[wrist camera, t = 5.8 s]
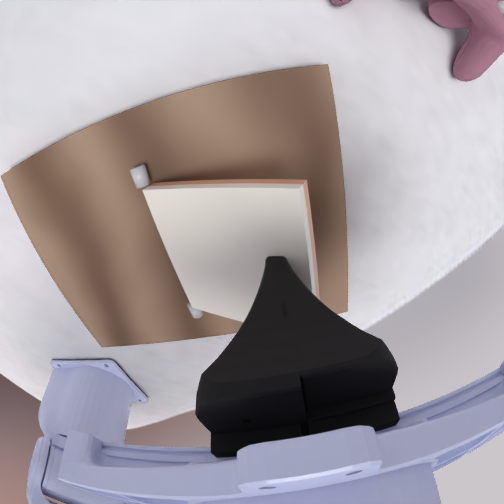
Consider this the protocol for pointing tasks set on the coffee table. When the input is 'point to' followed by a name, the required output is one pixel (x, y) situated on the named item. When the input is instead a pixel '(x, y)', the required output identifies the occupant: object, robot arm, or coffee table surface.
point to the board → (171, 170)
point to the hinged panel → (231, 236)
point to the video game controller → (470, 32)
